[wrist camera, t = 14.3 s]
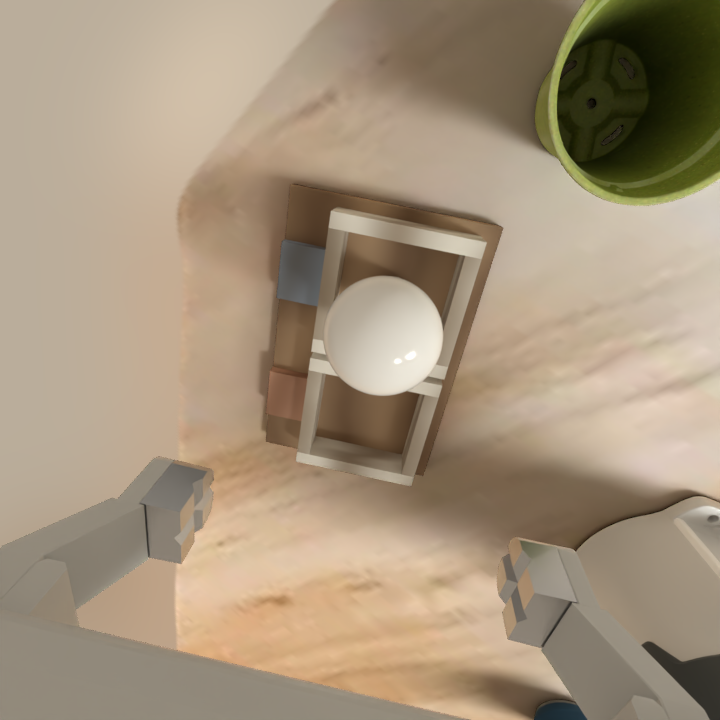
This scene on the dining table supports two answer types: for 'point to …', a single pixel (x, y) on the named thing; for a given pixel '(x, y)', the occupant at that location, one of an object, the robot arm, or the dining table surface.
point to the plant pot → (637, 99)
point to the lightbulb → (383, 335)
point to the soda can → (559, 711)
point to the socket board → (313, 300)
